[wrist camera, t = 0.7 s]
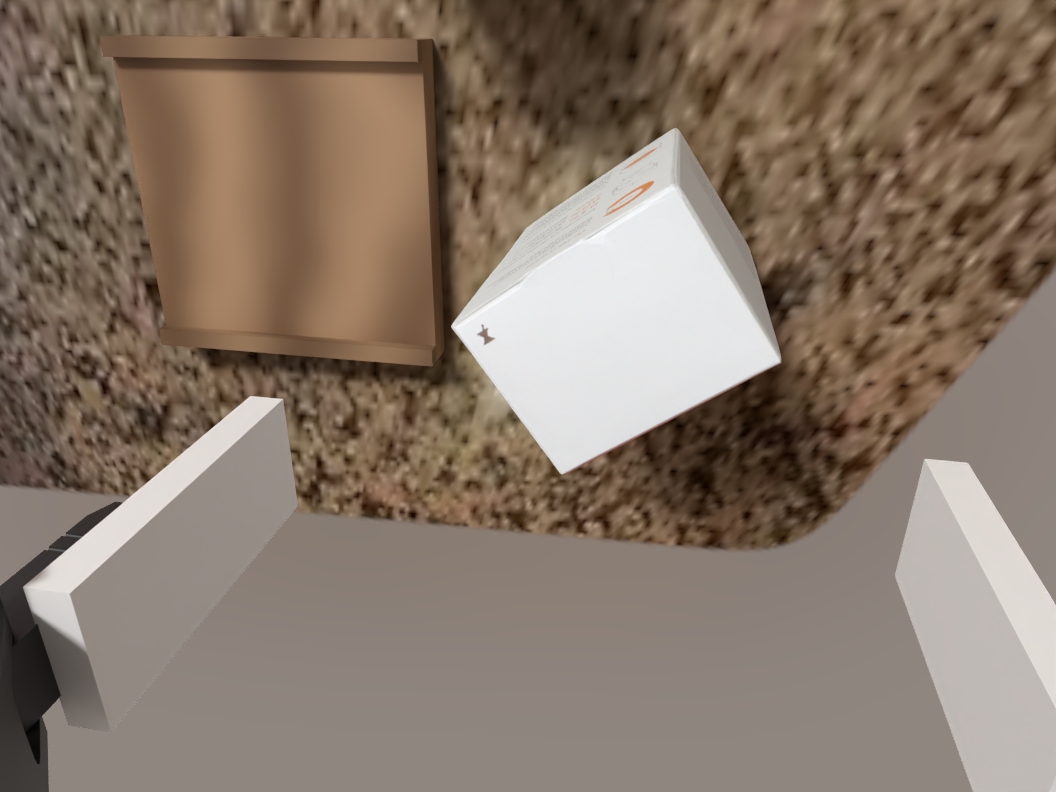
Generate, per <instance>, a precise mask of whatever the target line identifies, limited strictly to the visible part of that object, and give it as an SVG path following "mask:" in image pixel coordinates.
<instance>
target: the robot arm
mask: <svg viewBox="0 0 1056 792" xmlns="http://www.w3.org/2000/svg"><path fill="white" fill-rule="evenodd" d="M297 506H298V504H297V497H296V490H295V482H294V475H293V468H292V461H291V453H290V446H289V439H288V432H287V424H286V417H285V410H284V403H283V399H276V398H265V397H255V396H250V397H249V398H248V399H246V400H245V401H244V402H243V403H242V404H241V405H239V406H238V407H237V408H236V409H235V410H233V411H232V412H231V413H230V414H229V415H227V416H226V417H225V418H224V419H223V420H221V421H220V422H219V423H218V424H217V425H215V426H214V427H213V428H212V429H211V430H210V431H208V432H207V433H206V434H205V435H204V436H202V437H201V438H200V439H199V440H198V441H196V442H195V443H194V444H193V445H192V446H190V447H189V448H188V449H187V450H186V451H184V452H183V453H182V454H181V455H180V456H179V457H177V458H176V459H175V460H174V461H173V462H171V463H170V464H169V465H168V466H167V467H165V468H164V469H163V470H162V471H161V472H159V473H158V474H157V475H156V476H155V477H153V478H152V479H151V480H150V481H149V482H148V483H146V484H145V485H144V486H143V487H142V488H140V489H139V490H138V491H137V492H136V493H134V494H133V495H132V496H131V497H130V498H128V499H127V500H126V501H125V502H124V503H121V502H114V503H112V504H110V505H108V506H106V507H104V508H102V509H100V510H98V511H96V512H94V513H92V514H90V515H88V516H86V517H85V518H84V519H82V520H81V521H80V522H79V523H78V524H76V525H75V526H74V527H73V528H71V529H70V530H69V531H68V532H66V536H65V537H64V536H61V537H60V538H59V539H58V540H57V541H55V542H54V543H53V544H52V545H50V546H49V550H48V551H46V550H44V551H43V552H42V553H40V554H39V555H38V556H37V557H35V558H34V559H33V560H32V561H31V562H29V563H28V564H27V565H26V566H25V567H23V568H22V569H21V570H19V571H18V572H17V573H16V574H15V575H13V576H12V577H11V578H10V579H8V580H7V581H6V582H5V583H3V584H2V585H1V586H0V792H49V786H48V743H47V742H48V741H47V730H46V727H45V724H44V721H43V718H42V715H43V714H44V713H45V712H46V711H47V710H48V709H49V708H50V707H51V706H52V705H53V704H54V703H55V702H56V700H57V699H58V698H60V701H61V704H62V707H63V710H64V713H65V716H66V719H67V722H68V725H71V726H76V727H82V728H88V729H93V730H99V731H105V732H112V731H113V730H114V728H115V727H116V726H117V725H118V724H119V722H120V721H121V720H122V719H123V718H124V717H125V715H126V714H127V713H128V712H129V710H130V709H131V708H132V707H133V706H134V704H135V703H136V702H137V701H138V699H139V698H140V697H141V696H142V695H143V693H144V692H145V691H146V690H147V688H148V687H149V686H150V685H151V684H152V683H153V681H154V680H155V679H156V678H157V676H158V675H159V674H160V673H161V672H162V670H163V669H164V668H165V667H166V666H167V664H168V663H169V662H170V661H171V659H172V658H173V657H174V656H175V654H176V653H177V652H178V651H179V650H180V648H181V647H182V646H183V645H184V644H185V642H186V641H187V640H188V639H189V638H190V636H191V635H192V634H193V633H194V631H195V630H196V629H197V628H198V627H199V625H200V624H201V623H202V622H203V621H204V619H205V618H206V617H207V616H208V614H209V613H210V612H211V611H212V610H213V608H214V607H215V606H216V605H217V604H218V602H219V601H220V600H221V599H222V597H223V596H224V595H225V594H226V593H227V591H228V590H229V589H230V588H231V586H232V585H233V584H234V583H235V582H236V580H237V579H238V578H239V577H240V576H241V574H242V573H243V572H244V571H245V570H246V568H247V567H248V566H249V565H250V563H251V562H252V561H253V560H254V558H255V557H256V556H257V555H258V554H259V552H260V551H261V550H262V549H263V548H264V546H265V545H266V544H267V543H268V542H269V540H270V539H271V538H272V537H273V536H274V534H275V533H276V532H277V531H278V529H279V528H280V527H281V526H282V525H283V523H284V522H285V521H286V520H287V519H288V517H289V516H290V515H291V514H292V512H293V511H294V510H295V509H296V508H297ZM895 577H896V580H897V582H898V585H899V588H900V591H901V594H902V596H903V599H904V602H905V605H906V608H907V610H908V613H909V616H910V619H911V622H912V624H913V627H914V630H915V632H916V635H917V638H918V640H919V644H920V646H921V649H922V652H923V655H924V657H925V660H926V663H927V666H928V669H929V671H930V674H931V677H932V679H933V682H934V685H935V688H936V691H937V693H938V696H939V699H940V701H941V704H942V707H943V710H944V713H945V716H946V718H947V721H948V724H949V727H950V729H951V732H952V735H953V737H954V741H955V743H956V746H957V749H958V752H959V754H960V757H961V760H962V763H963V765H964V768H965V771H966V774H967V776H968V779H969V782H970V785H971V788H972V790H973V792H1056V605H1055V603H1054V601H1053V600H1052V598H1051V597H1050V595H1049V593H1048V592H1047V590H1046V588H1045V587H1044V585H1043V584H1042V582H1041V580H1040V579H1039V577H1038V576H1037V574H1036V572H1035V571H1034V569H1033V568H1032V566H1031V564H1030V563H1029V561H1028V559H1027V558H1026V556H1025V554H1024V553H1023V551H1022V550H1021V548H1020V547H1019V545H1018V543H1017V542H1016V540H1015V538H1014V537H1013V535H1012V533H1011V532H1010V530H1009V529H1008V527H1007V526H1006V524H1005V522H1004V521H1003V519H1002V517H1001V516H1000V514H999V513H998V511H997V509H996V508H995V506H994V505H993V503H992V501H991V500H990V498H989V496H988V495H987V493H986V492H985V490H984V488H983V487H982V485H981V483H980V482H979V481H978V479H977V477H976V475H975V474H974V472H973V471H972V469H971V467H970V466H969V464H968V463H964V462H953V461H942V460H932V459H924V463H923V467H922V471H921V475H920V479H919V483H918V487H917V491H916V495H915V499H914V502H913V507H912V510H911V514H910V518H909V523H908V526H907V530H906V534H905V538H904V542H903V546H902V550H901V554H900V558H899V562H898V566H897V570H896V574H895Z"/></svg>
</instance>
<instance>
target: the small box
mask: <svg viewBox="0 0 1056 792" xmlns="http://www.w3.org/2000/svg"><path fill="white" fill-rule="evenodd" d="M451 328H452V329H453V331H454V332H455V333H456V334H457V335H458V337H459V338H460V339H461V341H462V342H463V343H464V344H465V346H466V347H467V348H468V350H469V351H470V352H471V354H472V355H473V356H474V357H475V359H476V360H477V362H478V363H479V364H480V366H481V367H482V368H483V370H484V371H485V373H486V374H487V375H488V377H489V378H490V379H491V381H492V382H493V383H494V385H495V386H496V387H497V389H498V390H499V392H500V393H501V394H502V396H503V397H504V398H505V400H506V401H507V402H508V404H509V405H510V406H511V408H512V409H513V410H514V412H515V413H516V414H517V416H518V417H519V418H520V420H521V421H522V422H523V424H524V425H525V426H526V428H527V429H528V430H529V432H530V433H531V435H532V436H533V437H534V439H535V440H536V441H537V443H538V444H539V445H540V447H541V448H542V449H543V451H544V452H545V453H546V455H547V456H548V457H549V459H550V460H551V461H552V463H553V464H554V465H555V467H556V468H557V470H558V471H559V472H560V474H562V475H564V474H567V473H569V472H571V471H573V470H575V469H577V468H579V467H581V466H583V465H585V464H587V463H589V462H591V461H593V460H594V459H596V458H598V457H600V456H602V455H604V454H606V453H608V452H610V451H612V450H614V449H616V448H618V447H620V446H622V445H623V444H625V443H627V442H629V441H631V440H633V439H635V438H637V437H639V436H641V435H643V434H645V433H647V432H649V431H650V430H652V429H654V428H656V427H658V426H660V425H662V424H664V423H666V422H668V421H670V420H672V419H674V418H676V417H677V416H679V415H681V414H684V413H686V412H688V411H690V410H692V409H694V408H695V407H697V406H699V405H701V404H703V403H705V402H707V401H708V400H710V399H713V398H715V397H717V396H718V395H720V394H722V393H724V392H726V391H728V390H730V389H732V388H734V387H736V386H738V385H740V384H742V383H743V382H745V381H747V380H749V379H751V378H753V377H755V376H757V375H759V374H761V373H763V372H765V371H767V370H768V369H770V368H772V367H774V366H776V365H779V364H781V354H780V350H779V346H778V343H777V339H776V336H775V333H774V329H773V326H772V323H771V320H770V316H769V312H768V309H767V306H766V302H765V299H764V295H763V291H762V288H761V285H760V281H759V278H758V274H757V271H756V268H755V265H754V262H753V258H752V255H751V252H750V249H749V247H748V245H747V243H746V241H745V240H744V238H743V236H742V235H741V233H740V231H739V230H738V228H737V226H736V225H735V223H734V221H733V220H732V218H731V216H730V215H729V213H728V211H727V209H726V208H725V206H724V204H723V203H722V201H721V199H720V198H719V196H718V194H717V193H716V191H715V189H714V188H713V186H712V184H711V182H710V181H709V179H708V177H707V176H706V174H705V172H704V171H703V169H702V167H701V166H700V164H699V162H698V161H697V159H696V157H695V155H694V154H693V152H692V150H691V149H690V147H689V145H688V144H687V142H686V140H685V139H684V137H683V135H682V134H681V132H680V131H679V130H678V129H677V128H674V129H672V130H670V131H669V132H667V133H666V134H664V135H663V136H661V137H659V138H658V139H656V140H655V141H653V142H652V143H650V144H649V145H647V146H646V147H644V148H643V149H641V150H640V151H638V152H637V153H635V154H634V155H632V156H631V157H629V158H628V159H626V160H625V161H623V162H622V163H620V164H619V165H617V166H616V167H614V168H613V169H611V170H610V171H608V172H607V173H605V174H604V175H602V176H601V177H600V178H598V179H597V180H595V181H594V182H592V183H591V184H589V185H588V186H586V187H585V188H583V189H582V190H580V191H579V192H577V193H576V194H574V195H573V196H572V197H570V198H569V199H567V200H566V201H564V202H563V203H561V204H560V205H558V206H557V207H555V208H554V209H552V210H551V211H549V212H548V213H547V214H545V215H544V216H542V217H541V218H539V219H538V220H537V221H535V222H534V223H533V224H531V225H530V226H528V227H527V228H526V229H525V230H524V232H523V233H522V235H521V236H520V237H519V239H518V240H517V241H516V242H515V244H514V245H513V247H512V248H511V250H510V251H509V252H508V254H507V255H506V256H505V258H504V259H503V260H502V261H501V263H500V264H499V265H498V266H497V268H496V269H495V270H494V271H493V272H492V273H491V275H490V276H489V277H488V278H487V280H486V281H485V282H484V284H483V285H482V286H481V287H480V289H479V290H478V291H477V293H476V294H475V295H474V296H473V298H472V299H471V300H470V302H469V303H468V304H467V305H466V307H465V308H464V309H463V311H462V312H461V313H460V315H459V316H458V317H457V318H456V320H455V321H454V322H453V324H452V326H451Z"/></svg>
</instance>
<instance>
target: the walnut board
mask: <svg viewBox="0 0 1056 792" xmlns="http://www.w3.org/2000/svg"><path fill="white" fill-rule="evenodd" d="M99 37H100V42H101V47H102V52H103V57H113V61H114V66H115V71H116V76H117V81H118V86H119V91H120V96H121V101H122V106H123V111H124V116H125V121H126V126H127V131H128V136H129V141H130V146H131V151H132V156H133V161H134V166H135V171H136V176H137V181H138V186H139V191H140V196H141V201H142V206H143V211H144V216H145V222H146V227H147V232H148V237H149V242H150V247H151V252H152V257H153V262H154V267H155V272H156V277H157V282H158V287H159V292H160V297H161V302H162V307H163V312H164V317H165V322H166V326H164V327H162V328H161V329H159V332H160V337H161V342H162V345H174V346H186V347H198V348H211V349H223V350H235V351H248V352H260V353H272V354H285V355H297V356H309V357H322V358H334V359H346V360H358V361H371V362H383V363H395V364H408V365H420V366H432V367H433V365H434V364H435V363H436V361H437V360H438V359H439V357H440V356H441V355H442V353H443V352H444V351H445V338H444V313H443V289H442V264H441V239H440V215H439V190H438V165H437V141H436V116H435V91H434V67H433V42H432V39H387V38H300V37H213V36H99Z"/></svg>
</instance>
